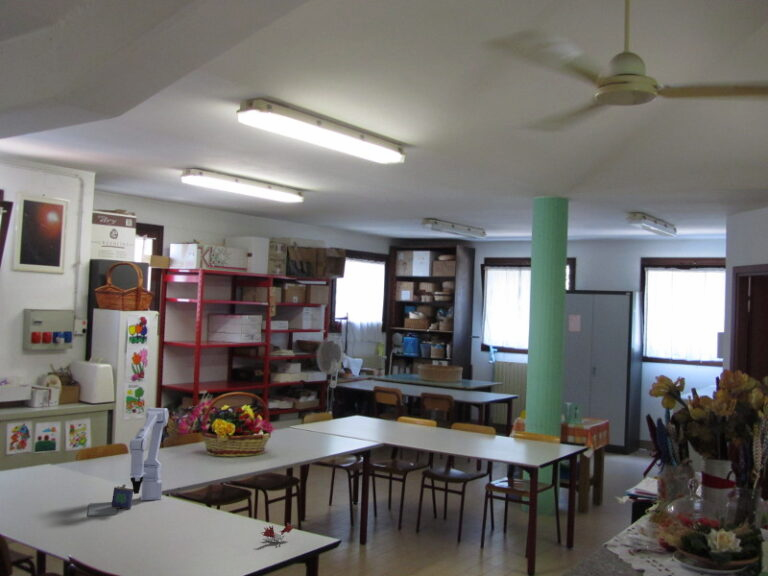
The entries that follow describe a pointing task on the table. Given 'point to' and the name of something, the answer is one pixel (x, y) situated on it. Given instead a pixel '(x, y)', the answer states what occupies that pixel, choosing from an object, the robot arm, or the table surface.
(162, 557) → the table surface
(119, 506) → the clover print pouch
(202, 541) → the table surface
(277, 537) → the figurine
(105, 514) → the mat
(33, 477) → the table surface
